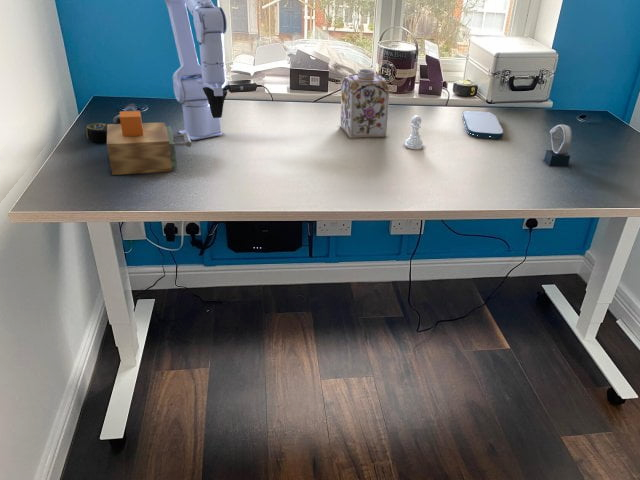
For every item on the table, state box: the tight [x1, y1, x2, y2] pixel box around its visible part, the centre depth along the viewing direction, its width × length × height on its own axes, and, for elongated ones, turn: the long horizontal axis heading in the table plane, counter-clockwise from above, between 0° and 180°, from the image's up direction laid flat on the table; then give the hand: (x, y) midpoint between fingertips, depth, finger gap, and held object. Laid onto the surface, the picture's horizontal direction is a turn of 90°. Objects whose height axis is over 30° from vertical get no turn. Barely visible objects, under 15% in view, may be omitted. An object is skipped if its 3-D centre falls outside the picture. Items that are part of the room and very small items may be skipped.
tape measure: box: [84, 122, 108, 143], centre depth 160 cm, size 7×7×4 cm
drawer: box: [166, 125, 192, 168], centre depth 149 cm, size 17×13×6 cm
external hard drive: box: [461, 110, 505, 140], centre depth 196 cm, size 24×12×2 cm, turn 0°
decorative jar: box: [340, 68, 390, 139], centre depth 179 cm, size 12×12×18 cm
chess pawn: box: [404, 115, 424, 150], centre depth 173 cm, size 5×5×9 cm
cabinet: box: [106, 121, 173, 176], centre depth 148 cm, size 14×15×8 cm
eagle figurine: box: [112, 103, 138, 124], centre depth 168 cm, size 8×7×9 cm
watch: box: [543, 123, 572, 167], centre depth 170 cm, size 6×8×11 cm
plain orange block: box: [119, 110, 143, 136], centre depth 145 cm, size 5×5×5 cm
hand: (216, 117), depth 154 cm, fingers closed
